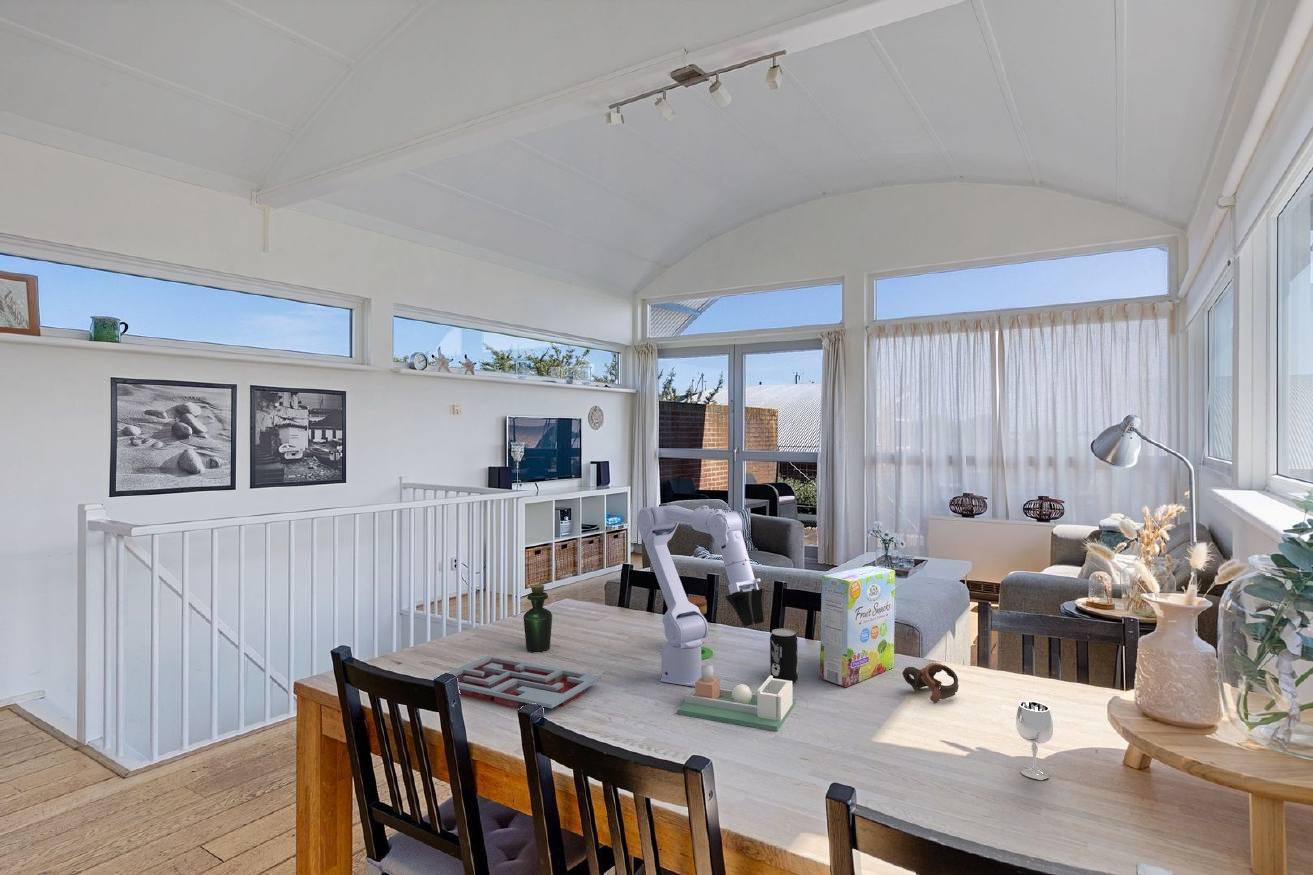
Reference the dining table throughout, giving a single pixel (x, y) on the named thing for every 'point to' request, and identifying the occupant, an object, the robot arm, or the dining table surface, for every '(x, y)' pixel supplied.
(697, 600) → the toy burger
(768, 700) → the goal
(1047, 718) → the wineglass
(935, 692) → the brown curved loop
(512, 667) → the maze game
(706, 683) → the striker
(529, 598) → the potion bottle
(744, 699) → the ball
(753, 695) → the pitch board
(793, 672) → the beverage can
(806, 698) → the dining table surface
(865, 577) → the snack box
